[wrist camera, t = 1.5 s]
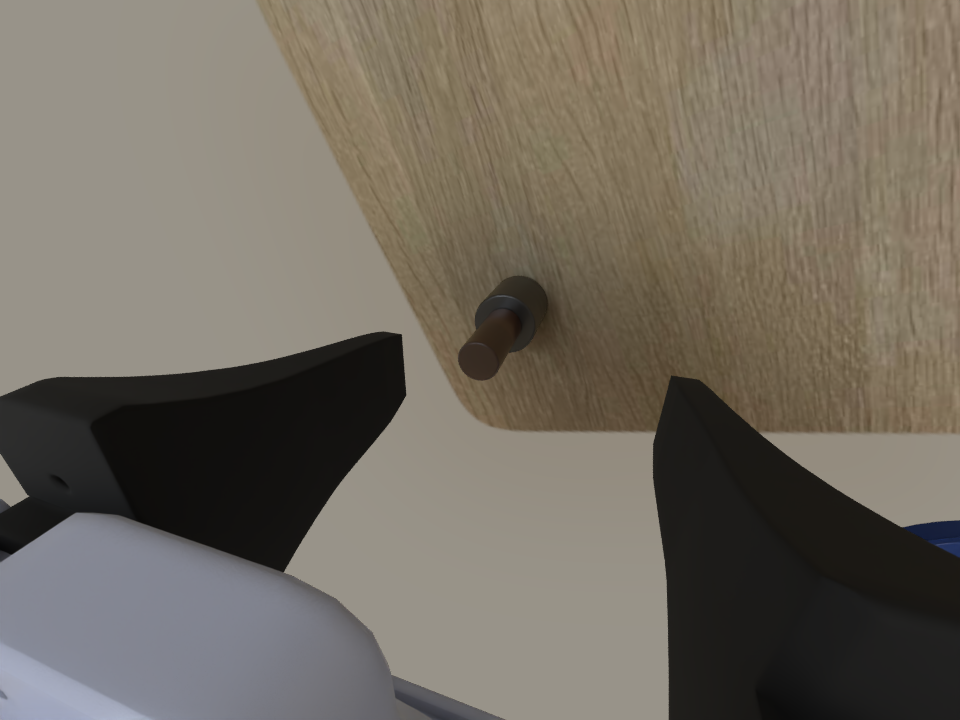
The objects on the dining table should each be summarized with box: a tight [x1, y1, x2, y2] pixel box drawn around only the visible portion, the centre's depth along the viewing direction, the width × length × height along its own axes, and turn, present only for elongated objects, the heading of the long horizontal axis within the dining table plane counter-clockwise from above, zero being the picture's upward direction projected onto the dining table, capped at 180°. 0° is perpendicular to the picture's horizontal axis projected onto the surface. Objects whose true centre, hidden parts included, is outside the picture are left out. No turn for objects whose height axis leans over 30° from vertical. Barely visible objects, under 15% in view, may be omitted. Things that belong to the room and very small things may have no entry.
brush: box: [458, 276, 547, 380], centre depth 18 cm, size 3×3×7 cm
